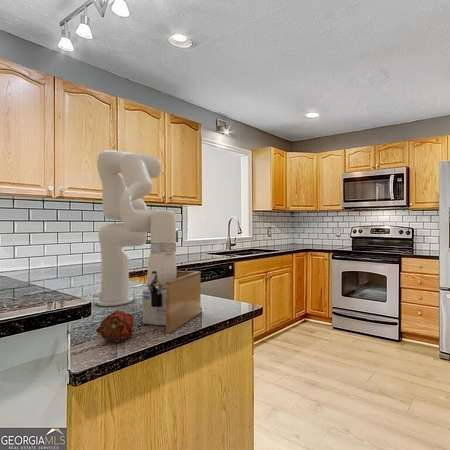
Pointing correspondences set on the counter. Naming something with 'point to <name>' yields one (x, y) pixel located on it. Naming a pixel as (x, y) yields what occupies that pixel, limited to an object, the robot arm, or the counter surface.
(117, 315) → the dragon fruit
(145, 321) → the light bulb box
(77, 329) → the counter surface
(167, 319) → the shelf
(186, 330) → the counter surface
